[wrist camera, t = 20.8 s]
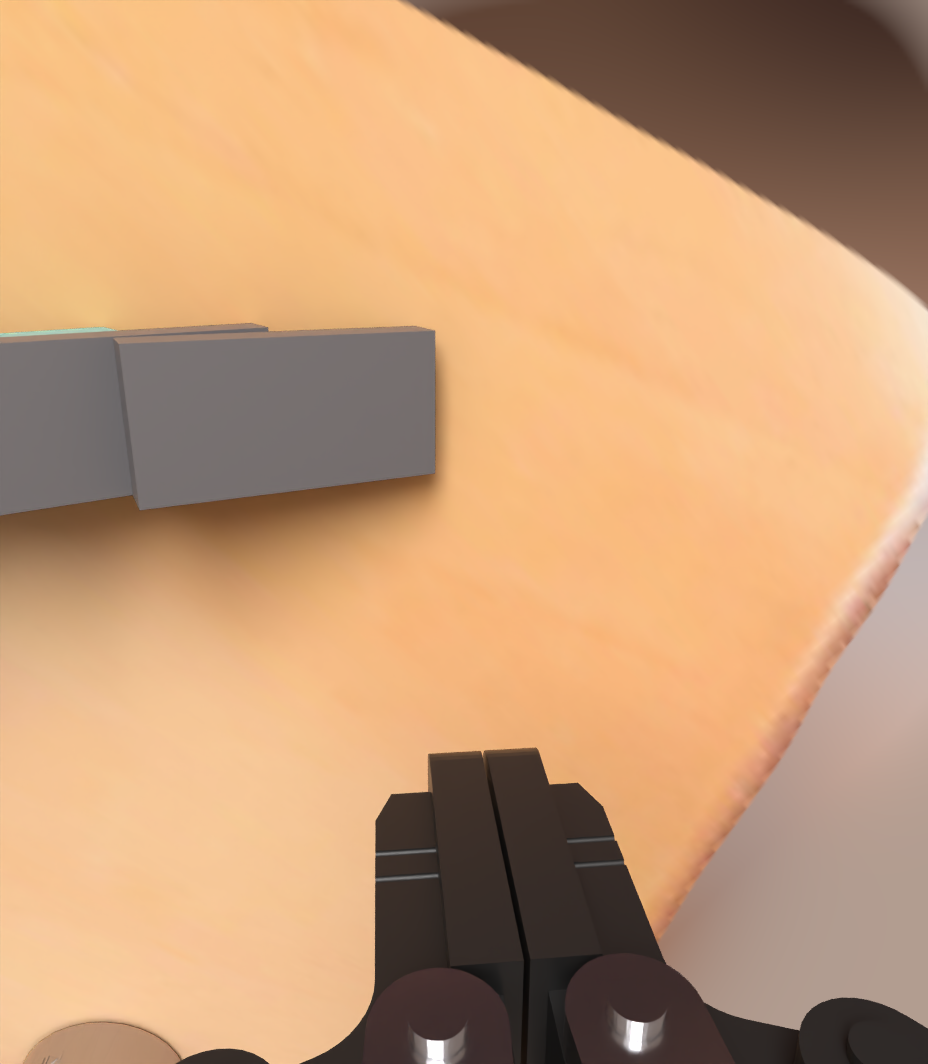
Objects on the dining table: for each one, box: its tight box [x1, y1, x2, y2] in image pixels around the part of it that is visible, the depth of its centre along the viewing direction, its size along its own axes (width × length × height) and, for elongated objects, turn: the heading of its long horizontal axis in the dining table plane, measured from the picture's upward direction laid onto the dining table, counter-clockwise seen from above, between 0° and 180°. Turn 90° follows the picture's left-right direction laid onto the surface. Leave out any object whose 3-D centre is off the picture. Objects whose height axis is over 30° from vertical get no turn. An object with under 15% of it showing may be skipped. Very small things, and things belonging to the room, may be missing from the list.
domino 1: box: [0, 323, 268, 515], centre depth 32 cm, size 2×6×12 cm
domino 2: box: [113, 326, 435, 510], centre depth 33 cm, size 2×6×12 cm
